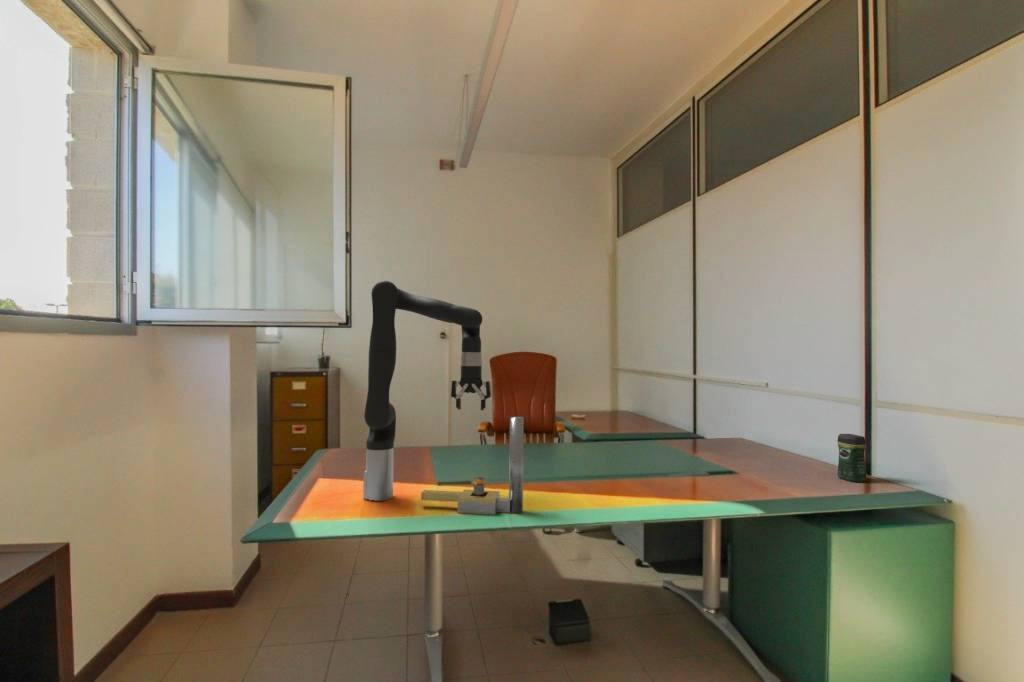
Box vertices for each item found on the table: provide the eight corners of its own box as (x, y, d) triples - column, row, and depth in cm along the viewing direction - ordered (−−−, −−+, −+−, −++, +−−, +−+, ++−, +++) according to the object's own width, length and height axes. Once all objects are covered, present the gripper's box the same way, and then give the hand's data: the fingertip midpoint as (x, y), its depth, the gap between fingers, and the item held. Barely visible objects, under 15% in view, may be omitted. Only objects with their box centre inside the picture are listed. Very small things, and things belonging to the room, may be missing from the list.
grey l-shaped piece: (418, 510, 162) (419, 416, 162) (426, 502, 171) (427, 413, 171) (520, 516, 157) (521, 419, 158) (524, 507, 166) (525, 416, 167)
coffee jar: (870, 482, 203) (870, 435, 203) (854, 483, 201) (854, 436, 201) (849, 476, 212) (849, 432, 213) (833, 477, 210) (833, 432, 211)
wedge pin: (472, 510, 162) (472, 479, 162) (474, 507, 166) (474, 476, 166) (483, 511, 162) (483, 480, 162) (485, 508, 165) (485, 477, 165)
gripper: (449, 364, 180) (448, 410, 180) (488, 365, 178) (488, 411, 178) (454, 364, 188) (454, 408, 187) (492, 364, 186) (492, 409, 185)
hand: (470, 409), depth 182 cm, fingers open, 8 cm apart
